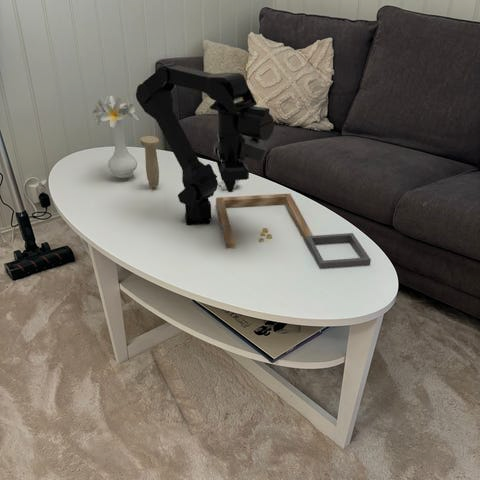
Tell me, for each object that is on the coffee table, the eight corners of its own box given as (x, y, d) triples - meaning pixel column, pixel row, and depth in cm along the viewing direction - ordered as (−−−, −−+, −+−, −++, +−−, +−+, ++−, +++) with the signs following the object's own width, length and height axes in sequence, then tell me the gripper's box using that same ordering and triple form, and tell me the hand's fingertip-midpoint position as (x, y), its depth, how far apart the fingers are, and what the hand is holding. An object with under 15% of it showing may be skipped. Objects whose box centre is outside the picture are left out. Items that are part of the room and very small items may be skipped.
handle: (151, 190, 144) (147, 144, 136) (142, 183, 149) (137, 137, 141) (165, 187, 147) (162, 140, 139) (156, 180, 151) (152, 134, 143)
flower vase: (130, 160, 165) (122, 87, 152) (151, 179, 151) (144, 101, 138) (94, 168, 159) (82, 93, 146) (112, 188, 145) (100, 107, 132)
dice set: (266, 233, 125) (266, 227, 124) (276, 242, 121) (276, 236, 120) (249, 238, 122) (249, 232, 121) (259, 247, 119) (259, 241, 118)
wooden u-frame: (226, 252, 116) (226, 243, 114) (216, 205, 137) (216, 197, 135) (313, 245, 119) (314, 237, 117) (289, 201, 140) (290, 193, 138)
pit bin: (319, 274, 108) (320, 263, 107) (305, 246, 118) (306, 236, 117) (368, 270, 110) (370, 259, 108) (351, 243, 120) (352, 233, 118)
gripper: (272, 143, 102) (269, 207, 110) (257, 117, 118) (255, 174, 126) (221, 145, 101) (222, 209, 109) (213, 119, 116) (214, 177, 125)
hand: (230, 191), depth 117 cm, fingers closed
